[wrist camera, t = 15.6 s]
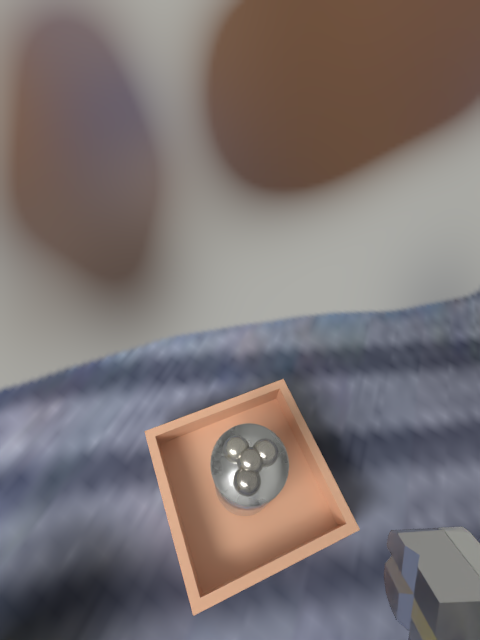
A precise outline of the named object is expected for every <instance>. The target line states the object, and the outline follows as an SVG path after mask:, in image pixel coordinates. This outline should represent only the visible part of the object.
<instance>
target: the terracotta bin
mask: <svg viewBox="0 0 480 640" xmlns="http://www.w3.org/2000/svg"><path fill="white" fill-rule="evenodd" d="M246 423H252V424H258V425H261V426H264V427H266V428H268V429H270V430H271V431H273V432H274V433H275V434H276V435H277V436H278V437H279V438H280V440H281V441H282V443H283V444H284V446H285V448H286V451H287V454H288V459H289V473H288V477H287V481H286V483H285V485H284V487H283V489H282V490H281V492H280V493H279V494H278V495H277V496H276V497H275V498H274V499H273V500H271V501H270V502H269V503H268V504H267V505H266V506H265V507H264V508H263V509H262V510H261V511H260V512H258V513H256V514H254V515H251V516H239V515H235V514H233V513H231V512H229V511H228V510H227V509H225V508H224V507H223V505H222V504H221V503H220V501H219V499H218V497H217V494H216V490H215V484H214V481H213V478H212V474H211V465H210V462H211V455H212V451H213V448H214V446H215V444H216V442H217V441H218V439H219V438H220V437H221V435H222V434H223V433H225V432H226V431H227V430H229V429H230V428H232V427H234V426H237V425H240V424H246ZM145 435H146V439H147V443H148V446H149V450H150V454H151V458H152V461H153V465H154V469H155V473H156V477H157V480H158V484H159V488H160V492H161V495H162V499H163V503H164V507H165V511H166V514H167V518H168V522H169V526H170V529H171V533H172V537H173V541H174V545H175V548H176V552H177V556H178V560H179V563H180V567H181V571H182V575H183V579H184V582H185V586H186V590H187V594H188V597H189V601H190V605H191V609H192V613H193V616H194V615H196V614H198V613H200V612H202V611H204V610H206V609H207V608H209V607H211V606H213V605H215V604H217V603H219V602H221V601H223V600H225V599H227V598H229V597H231V596H233V595H235V594H236V593H238V592H240V591H242V590H244V589H246V588H248V587H250V586H252V585H254V584H256V583H258V582H260V581H262V580H264V579H266V578H267V577H269V576H271V575H273V574H275V573H277V572H279V571H281V570H283V569H285V568H287V567H289V566H291V565H293V564H295V563H297V562H298V561H300V560H302V559H304V558H306V557H308V556H310V555H312V554H314V553H316V552H318V551H320V550H322V549H324V548H326V547H327V546H329V545H331V544H333V543H335V542H337V541H339V540H341V539H343V538H345V537H347V536H349V535H351V534H353V533H355V532H357V531H358V530H360V529H359V527H358V525H357V523H356V521H355V519H354V517H353V515H352V513H351V511H350V509H349V507H348V505H347V503H346V501H345V499H344V497H343V495H342V493H341V491H340V489H339V487H338V485H337V483H336V481H335V479H334V477H333V476H332V474H331V472H330V470H329V468H328V466H327V464H326V462H325V460H324V458H323V456H322V454H321V452H320V450H319V448H318V446H317V444H316V442H315V440H314V438H313V436H312V434H311V432H310V430H309V428H308V426H307V424H306V422H305V420H304V418H303V416H302V414H301V412H300V410H299V408H298V407H297V405H296V403H295V401H294V399H293V397H292V395H291V393H290V391H289V389H288V387H287V385H286V383H285V381H284V379H282V380H279V381H276V382H274V383H271V384H268V385H266V386H263V387H260V388H258V389H255V390H253V391H250V392H247V393H245V394H242V395H239V396H237V397H234V398H231V399H229V400H226V401H224V402H221V403H218V404H216V405H213V406H210V407H208V408H205V409H202V410H200V411H197V412H195V413H192V414H189V415H187V416H184V417H181V418H179V419H176V420H173V421H171V422H168V423H166V424H163V425H160V426H158V427H155V428H152V429H150V430H147V431H145Z"/></svg>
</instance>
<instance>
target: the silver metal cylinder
mask: <svg viewBox="0 0 480 640" xmlns="http://www.w3.org/2000/svg"><path fill="white" fill-rule="evenodd" d="M210 465H211V474H212V478H213V481H214V484H215V490H216V494H217V497H218V499H219V501H220V503H221V504H222V505H223V507H224V508H225V509H227V510H228V511H229V512H231V513H233V514H235V515H239V516H251V515H254V514H256V513H258V512H260V511H261V510H262V509H263V508H264V507H265V506H266V505H267V504H268V503H269V502H270V501H271V500H273V499H274V498H275V497H276V496H277V495H278V494H279V493H280V492H281V490H282V489H283V487H284V485H285V483H286V481H287V477H288V473H289V459H288V454H287V451H286V448H285V446H284V444H283V443H282V441H281V440H280V438H279V437H278V436H277V435H276V434H275V433H274V432H273V431H271V430H270V429H268V428H266V427H264V426H261V425H258V424H252V423H246V424H240V425H237V426H234V427H232V428H230V429H229V430H227V431H226V432H225V433H223V434H222V435H221V437H220V438H219V439H218V441H217V442H216V444H215V446H214V448H213V451H212V455H211V462H210Z"/></svg>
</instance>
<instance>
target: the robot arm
mask: <svg viewBox="0 0 480 640" xmlns="http://www.w3.org/2000/svg"><path fill="white" fill-rule="evenodd" d="M387 548H388V550H389V551H390V553H391V555H392V556H391V557H390V559H389V560H388V561H387V562H386V563H385V568H384V582H385V589H386V595H387V598H388V601H389V604H390V607H391V609H392V611H393V614H394V616H395V618H396V620H397V621H398V622H399V623H400V624H401V625H403V626H404V627H405V628H406V629H407V630H408V631H409V638H408V640H480V543H479V542H478V541H477V540H476V539H475V538H474V536H473V535H472V534H471V533H470V532H469V531H468V530H466V529H465V528H463V527H445V528H437V529H436V528H428V529H405V530H391V531H390V533H389V535H388V539H387Z"/></svg>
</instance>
